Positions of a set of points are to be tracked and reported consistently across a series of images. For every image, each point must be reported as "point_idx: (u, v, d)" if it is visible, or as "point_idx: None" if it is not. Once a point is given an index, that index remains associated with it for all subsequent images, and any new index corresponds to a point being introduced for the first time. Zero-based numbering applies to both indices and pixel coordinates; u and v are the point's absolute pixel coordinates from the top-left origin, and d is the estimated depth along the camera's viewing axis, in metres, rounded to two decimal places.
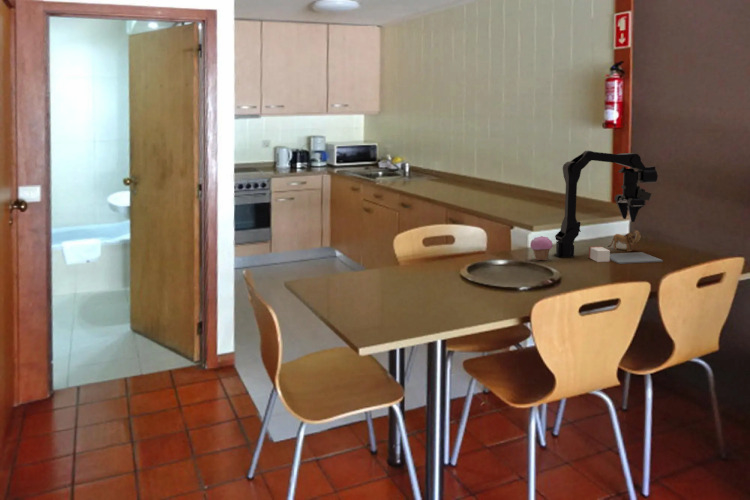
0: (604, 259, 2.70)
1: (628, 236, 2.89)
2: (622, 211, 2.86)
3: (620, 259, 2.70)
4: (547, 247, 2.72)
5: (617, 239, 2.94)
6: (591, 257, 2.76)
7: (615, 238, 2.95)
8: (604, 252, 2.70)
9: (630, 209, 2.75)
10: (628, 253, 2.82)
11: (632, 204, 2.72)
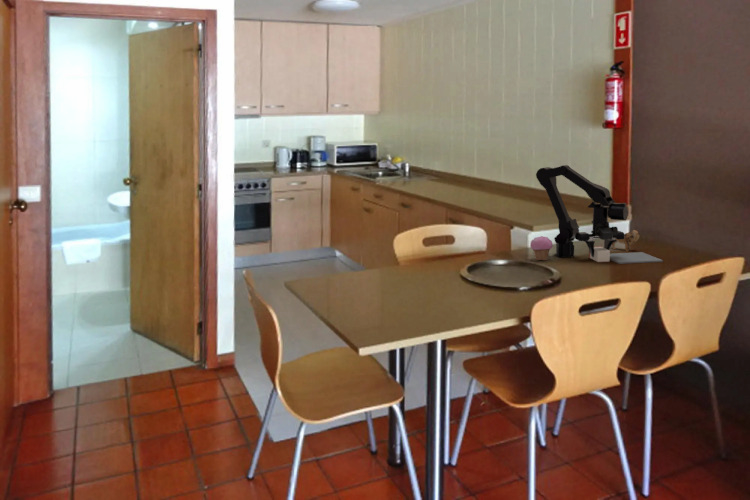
0: (604, 258, 2.70)
1: (627, 236, 2.89)
2: None
3: (620, 259, 2.70)
4: (547, 247, 2.72)
5: (616, 239, 2.95)
6: (591, 257, 2.76)
7: None
8: (604, 252, 2.70)
9: (586, 243, 2.75)
10: (628, 253, 2.82)
11: (575, 237, 2.75)
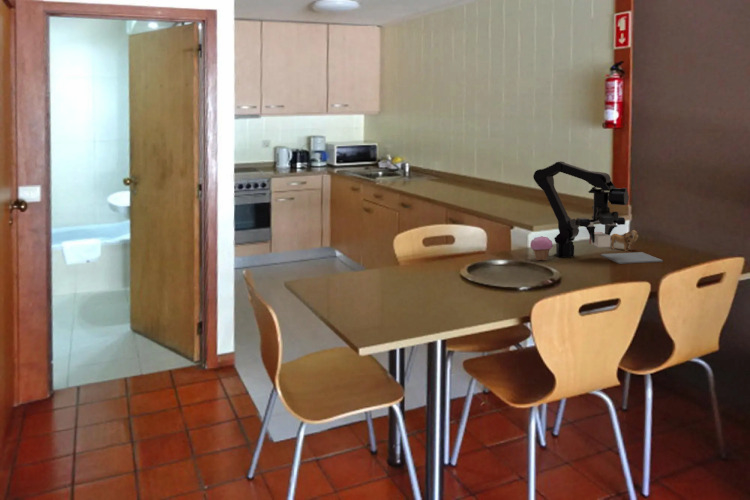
0: (605, 244, 2.69)
1: (626, 236, 2.90)
2: (605, 233, 2.74)
3: (620, 259, 2.70)
4: (547, 247, 2.72)
5: (615, 239, 2.95)
6: (592, 243, 2.75)
7: (613, 238, 2.95)
8: (605, 237, 2.68)
9: (587, 228, 2.74)
10: (628, 253, 2.82)
11: (575, 223, 2.74)
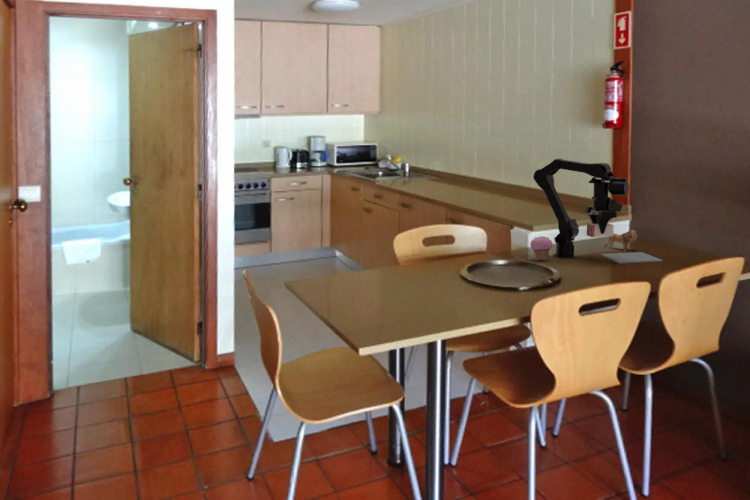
0: None
1: (625, 236, 2.90)
2: None
3: (620, 259, 2.70)
4: (547, 247, 2.72)
5: (613, 239, 2.95)
6: (597, 235, 2.70)
7: (611, 238, 2.96)
8: None
9: (599, 221, 2.67)
10: (628, 253, 2.82)
11: (603, 216, 2.62)
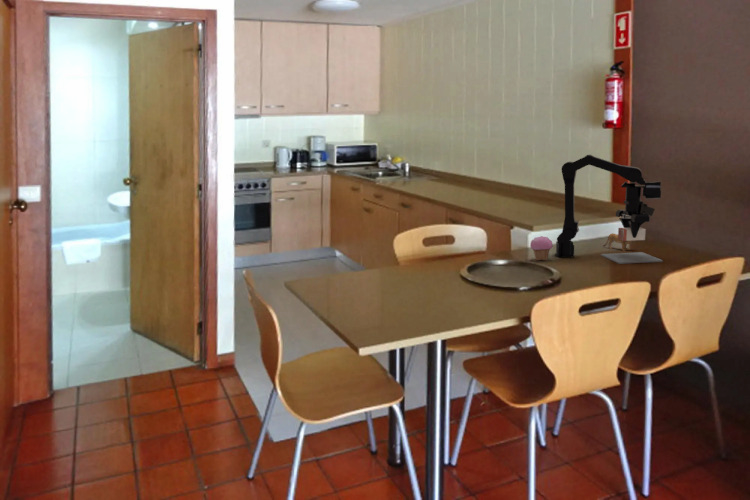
0: None
1: None
2: (626, 227, 2.75)
3: (620, 259, 2.70)
4: (547, 247, 2.72)
5: (612, 238, 2.96)
6: (629, 238, 2.70)
7: (610, 237, 2.96)
8: None
9: (632, 225, 2.67)
10: (628, 253, 2.82)
11: (636, 220, 2.62)
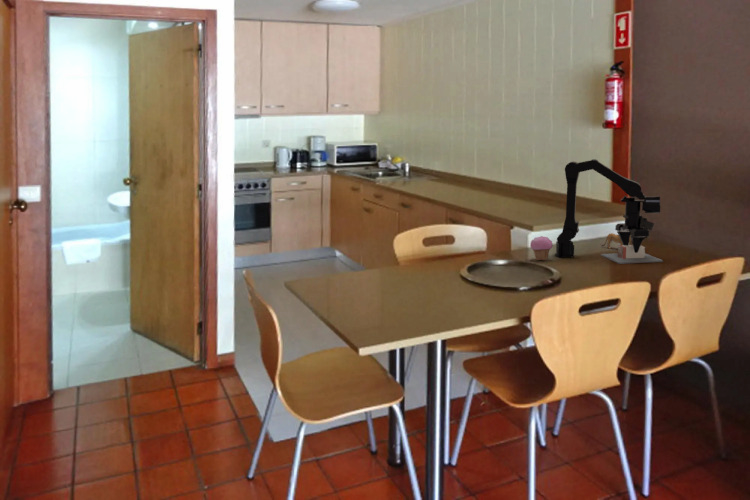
0: None
1: None
2: (624, 241, 2.78)
3: (620, 259, 2.70)
4: (547, 247, 2.72)
5: (611, 238, 2.96)
6: (629, 256, 2.72)
7: (609, 237, 2.97)
8: None
9: (634, 240, 2.66)
10: None
11: (636, 235, 2.63)
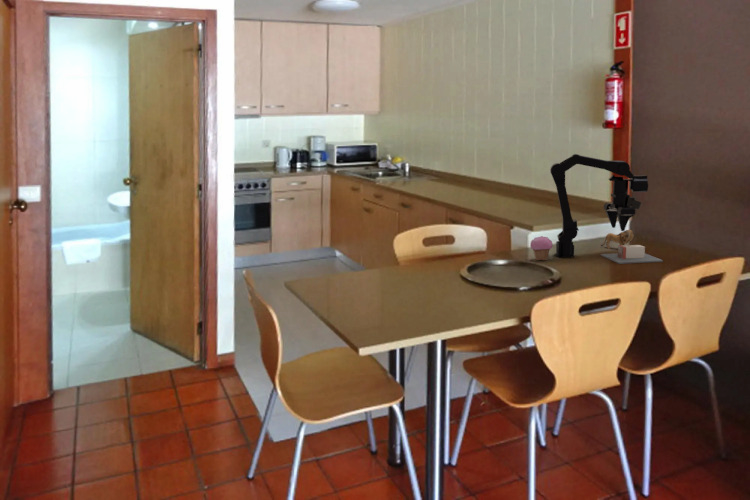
0: None
1: (621, 235, 2.92)
2: (611, 220, 2.81)
3: (620, 259, 2.70)
4: (547, 247, 2.72)
5: (610, 238, 2.96)
6: (629, 256, 2.72)
7: (608, 237, 2.97)
8: None
9: (620, 218, 2.70)
10: None
11: (622, 213, 2.66)
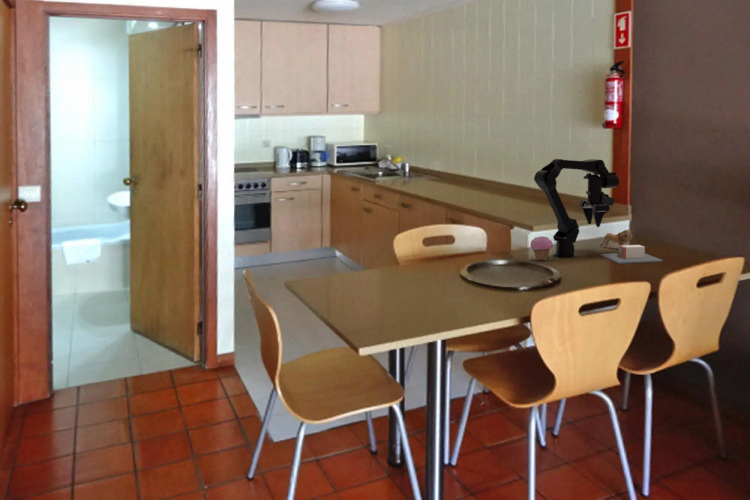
0: None
1: (620, 235, 2.92)
2: (587, 216, 2.90)
3: (620, 259, 2.70)
4: (547, 247, 2.72)
5: (609, 238, 2.97)
6: (629, 256, 2.72)
7: (607, 237, 2.97)
8: None
9: (595, 215, 2.79)
10: None
11: (597, 210, 2.76)
